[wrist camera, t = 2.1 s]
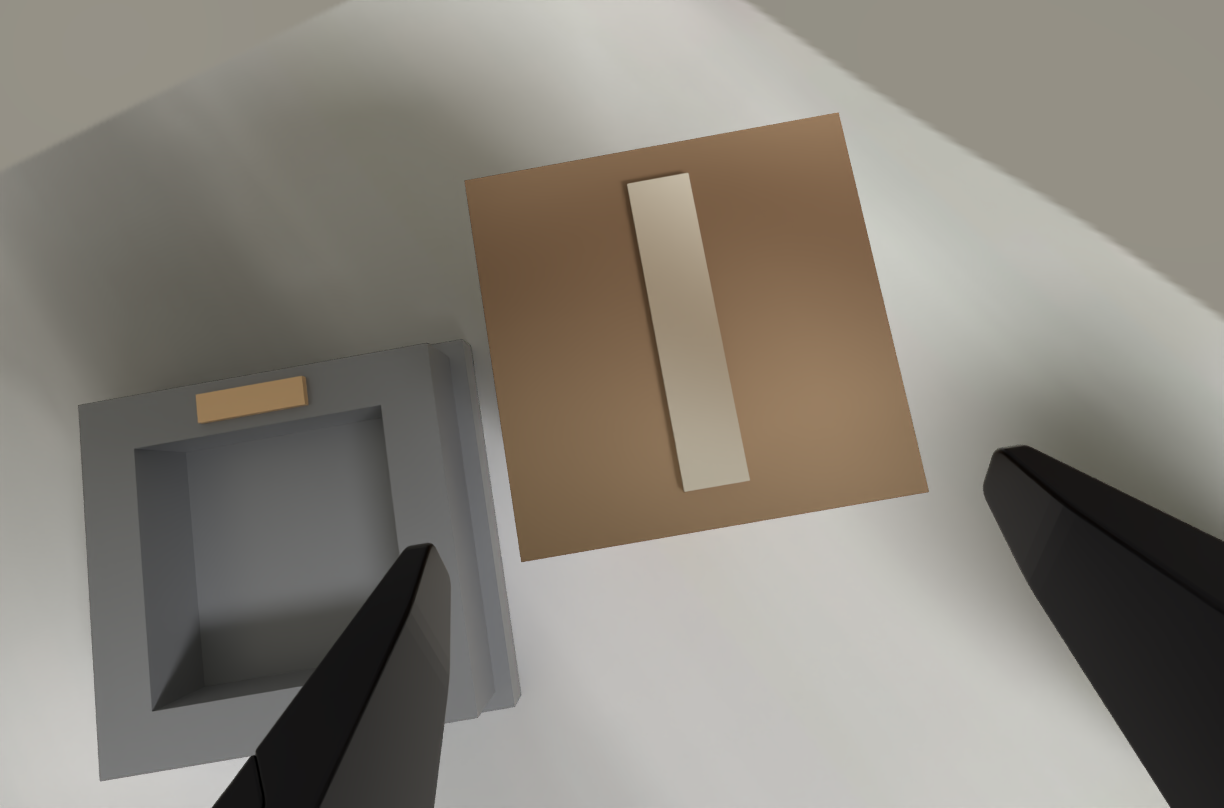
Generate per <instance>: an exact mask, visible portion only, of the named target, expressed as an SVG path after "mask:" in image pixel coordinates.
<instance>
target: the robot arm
mask: <svg viewBox="0 0 1224 808" xmlns="http://www.w3.org/2000/svg"><path fill="white" fill-rule="evenodd" d="M983 492H984V496H985V499H986V501H987V503H988V505H989V507H990V509H991V511H992V513H993V515H994V517H995V519H996V521H997V523H998V526H999V528H1000V530H1001V532H1002V534H1003V536H1004V538H1005V540H1006V542H1007V544H1008V546H1009V548H1010V550H1011V552H1012V554H1013V556H1014V558H1015V560H1016V562H1017V564H1018V566H1019V568H1020V570H1021V572H1022V574H1023V575H1024V577H1025V579H1026V581H1027V583H1028V585H1029V586H1030V588H1031V590H1032V591H1033V593H1034V595H1035V596H1036V598H1037V599H1038V601H1039V603H1040V604H1041V606H1042V607H1043V609H1044V610H1045V612H1046V614H1047V615H1048V617H1049V618H1050V620H1051V621H1052V623H1053V625H1054V626H1055V628H1056V629H1057V631H1058V632H1059V634H1060V635H1061V637H1062V639H1063V640H1064V642H1065V643H1066V645H1067V646H1068V648H1069V650H1070V651H1071V653H1072V654H1073V656H1074V657H1075V659H1076V661H1077V662H1078V664H1079V665H1080V667H1081V668H1082V670H1083V672H1084V673H1085V675H1086V676H1087V678H1088V679H1089V681H1090V682H1091V684H1092V686H1093V687H1094V689H1095V690H1096V692H1097V693H1098V695H1099V697H1100V698H1101V700H1102V701H1103V703H1104V704H1105V706H1106V708H1107V709H1108V711H1109V712H1110V714H1111V715H1112V717H1113V718H1114V720H1115V722H1116V723H1117V725H1118V726H1119V728H1120V729H1121V731H1122V733H1123V734H1124V736H1125V737H1126V739H1127V740H1128V742H1129V744H1130V745H1131V747H1132V748H1133V750H1134V751H1135V753H1136V755H1137V756H1138V758H1139V759H1140V761H1141V762H1142V764H1143V765H1144V767H1145V769H1146V770H1147V772H1148V773H1149V775H1150V776H1151V778H1152V780H1153V781H1154V783H1155V784H1156V786H1157V787H1158V789H1159V791H1160V792H1161V794H1162V795H1163V797H1164V798H1165V800H1166V802H1167V803H1168V805H1169V806H1170V808H1224V541H1222V540H1220V539H1218V538H1216V537H1214V536H1212V535H1209V534H1207V533H1205V532H1203V531H1201V530H1199V529H1197V528H1195V527H1193V526H1191V525H1189V524H1187V523H1185V522H1183V521H1181V520H1179V519H1177V518H1175V517H1173V516H1171V515H1169V514H1167V513H1165V512H1163V511H1161V510H1158V509H1156V508H1154V507H1152V506H1150V505H1148V504H1146V503H1144V502H1142V501H1140V500H1138V499H1136V498H1134V497H1132V496H1130V495H1128V494H1126V493H1124V492H1122V491H1120V490H1118V489H1116V488H1114V487H1112V486H1109V485H1107V484H1105V483H1103V482H1101V481H1099V480H1097V479H1095V478H1093V477H1091V476H1089V475H1087V474H1085V473H1083V472H1081V471H1079V470H1077V469H1075V468H1073V467H1071V466H1069V465H1067V464H1065V463H1063V462H1060V461H1058V460H1056V459H1054V458H1052V457H1050V456H1048V455H1046V454H1044V453H1042V452H1040V451H1038V450H1036V449H1034V448H1032V447H1030V446H1027V445H1014V446H1008V447H1002V448H999V449H997V450H996V451H995V452H994V453H993V455H992V458H991V461H990V464H989V468H988V471H987V474H986V477H985V480H984V484H983ZM450 638H451V581H450V576H449V573H448V571H447V569H446V567H445V565H444V563H443V561H442V559H441V557H440V555H439V553H438V551H437V549H436V547H435V546H434V545H433V544H432V543H423V544H417V545H411V546H408V547H406V548H405V549H404V550H403V551H402V553H401V554H400V555H399V557H398V558H397V559H396V561H395V562H394V563H393V565H392V566H391V567H390V569H389V570H388V571H387V573H386V574H385V576H384V577H383V578H382V580H381V581H380V582H379V584H378V585H377V586H376V588H375V589H374V590H373V592H372V593H371V594H370V596H369V597H368V598H367V600H366V601H365V603H364V604H363V605H362V607H361V608H360V609H359V611H358V612H357V613H356V615H355V616H354V617H353V619H352V620H351V621H350V623H349V624H348V626H347V627H346V628H345V630H344V631H343V632H342V634H341V635H340V636H339V638H338V639H337V640H336V642H335V643H334V644H333V646H332V647H331V648H330V650H329V651H328V653H327V654H326V655H325V657H324V658H323V659H322V661H321V662H320V663H319V665H318V666H317V667H316V669H315V670H314V671H313V673H312V674H311V675H310V677H309V678H308V680H307V681H306V682H305V684H304V685H303V686H302V688H301V689H300V690H299V692H298V693H297V694H296V696H295V697H294V698H293V700H292V701H291V703H290V704H289V705H288V707H287V708H286V709H285V711H284V712H283V713H282V715H281V716H280V717H279V719H278V720H277V721H276V723H275V724H274V725H273V727H272V728H271V730H270V731H269V732H268V734H267V735H266V736H265V738H264V739H263V740H262V742H261V743H260V744H259V746H258V747H257V748H256V750H255V755H252V756H251V757H250V758H249V759H248V760H247V762H246V763H245V764H244V766H243V767H242V768H241V770H240V771H239V772H238V774H237V775H236V776H235V778H234V779H233V781H232V782H231V783H230V784H229V786H228V787H227V788H226V790H225V791H224V792H223V794H222V795H221V796H220V797H219V799H218V800H217V801H216V803H215V804H214V805H213V807H212V808H434V803H435V795H436V787H437V779H438V771H439V763H440V755H441V747H442V739H443V731H444V723H445V715H446V707H447V699H448V690H449V680H450Z"/></svg>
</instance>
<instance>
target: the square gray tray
mask: <svg viewBox="0 0 1224 808" xmlns="http://www.w3.org/2000/svg"><path fill="white" fill-rule="evenodd" d="M78 408H79V426H80V443H81V461H82V478H83V496H84V513H85V531H86V548H87V566H88V584H89V601H90V619H91V636H92V654H93V671H94V689H95V706H96V724H97V741H98V759H99V776H100V781H106V780H111V779H117V778H123V777H129V776H135V775H141V774H147V773H153V772H159V771H165V770H171V769H177V768H183V767H189V766H195V765H201V764H206V763H212V762H218V761H224V760H230V759H236V758H242V757H248V756H252V755H255V750H256V748H257V747H258V746H259V744H260V743H261V742H262V740H263V739H264V738H265V736H266V735H267V734H268V732H269V731H270V730H271V728H272V727H273V725H274V724H275V723H276V721H277V720H278V719H279V717H280V716H281V715H282V713H283V712H284V711H285V709H286V708H287V707H288V705H289V704H290V703H291V701H292V700H293V698H294V697H295V696H296V694H297V693H298V692H299V690H300V689H301V688H302V686H303V685H304V684H305V682H306V681H307V680H308V678H309V677H310V675H311V674H312V673H313V671H314V670H315V669H316V667H317V666H318V665H319V663H320V662H321V661H322V659H323V658H324V657H325V655H326V654H327V653H328V651H329V650H330V648H331V647H332V646H333V644H334V643H335V642H336V640H337V639H338V638H339V636H340V635H341V634H342V632H343V631H344V630H345V628H346V627H347V626H348V624H349V623H350V621H351V620H352V619H353V617H354V616H355V615H356V613H357V612H358V611H359V609H360V608H361V607H362V605H363V604H364V603H365V601H366V600H367V598H368V597H369V596H370V594H371V593H372V592H373V590H374V589H375V588H376V586H377V585H378V584H379V582H380V581H381V580H382V578H383V577H384V576H385V574H386V573H387V571H388V570H389V569H390V567H391V566H392V565H393V563H394V562H395V561H396V559H397V558H398V557H399V555H400V554H401V553H402V551H403V550H404V549H405V548H406V547H408V546H411V545H417V544H423V543H432V544H433V545H434V546H435V547H436V549H437V551H438V553H439V555H440V557H441V559H442V561H443V563H444V565H445V567H446V569H447V571H448V573H449V576H450V581H451V638H450V680H449V690H448V699H447V707H446V715H445V723H450V722H456V721H462V720H468V719H474V718H478V717H479V715H480V714H481V713H482V712H487V711H493V710H499V709H505V708H511V707H515V706H516V704H517V702H518V700H519V698H520V697H521V689H520V683H519V676H518V669H517V662H516V655H515V648H514V641H513V634H512V627H511V620H510V613H509V607H508V600H507V593H506V586H505V579H504V572H503V565H502V558H501V551H500V544H499V537H498V531H497V524H496V517H495V510H494V503H493V496H492V489H491V482H490V475H489V468H488V461H487V455H486V448H485V441H484V434H483V427H482V420H481V413H480V406H479V399H478V392H477V385H476V379H475V372H474V365H473V358H472V351H471V346H470V345H469V344H468V343H466V342H465V341H464V340H463V339H460V340H455V341H449V342H443V343H438V344H432V345H429V344H428V343H424V344H418V345H413V346H407V347H402V348H396V349H390V350H385V351H379V352H374V353H368V354H362V355H357V356H351V357H345V358H340V359H334V360H329V361H323V362H317V363H312V364H306V365H301V366H295V367H289V368H284V369H278V370H273V371H267V372H261V373H256V374H250V375H245V376H239V377H233V378H228V379H222V380H217V381H211V382H205V383H200V384H194V385H189V386H183V387H177V388H172V389H166V390H160V391H155V392H149V393H144V394H138V395H132V396H127V397H121V398H116V399H110V400H104V401H99V402H93V403H88V404H82V405H78Z"/></svg>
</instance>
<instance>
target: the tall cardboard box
mask: <svg viewBox="0 0 1224 808" xmlns="http://www.w3.org/2000/svg"><path fill="white" fill-rule="evenodd" d="M465 187H466V194H467V201H468V207H469V214H470V221H471V228H472V234H473V241H474V248H475V254H476V261H477V268H478V275H479V281H480V288H481V295H482V301H483V308H484V315H485V322H486V328H487V335H488V342H489V348H490V355H491V362H492V369H493V375H494V382H495V389H496V396H497V402H498V409H499V416H500V422H501V429H502V436H503V443H504V449H505V456H506V463H507V469H508V476H509V483H510V490H511V496H512V503H513V510H514V516H515V523H516V530H517V537H518V543H519V550H520V557H521V562H525V561H531V560H537V559H543V558H548V557H554V556H560V555H566V554H572V553H577V552H583V551H589V550H595V549H601V548H606V547H612V546H618V545H624V544H630V543H635V542H641V541H647V540H653V539H659V538H665V537H670V536H676V535H682V534H688V533H694V532H699V531H705V530H711V529H717V528H723V527H728V526H734V525H740V524H746V523H752V522H757V521H763V520H769V519H775V518H781V517H786V516H792V515H798V514H804V513H810V512H815V511H821V510H827V509H833V508H839V507H844V506H850V505H856V504H862V503H868V502H873V501H879V500H885V499H891V498H897V497H902V496H908V495H914V494H920V493H926V492H929V490H928V486H927V482H926V477H925V473H924V469H923V465H922V461H921V456H920V452H919V448H918V444H917V440H916V435H915V431H914V427H913V423H912V419H911V414H910V410H909V406H908V402H907V398H906V393H905V389H904V385H903V381H902V377H901V373H900V368H899V364H898V360H897V356H896V352H895V347H894V343H893V339H892V335H891V331H890V326H889V322H888V318H887V314H886V310H885V305H884V301H883V297H882V293H881V289H880V284H879V280H878V276H877V272H876V268H875V263H874V259H873V255H872V251H871V247H870V243H869V238H868V234H867V230H866V226H865V222H864V217H863V213H862V209H861V205H860V201H859V196H858V192H857V188H856V184H855V180H854V175H853V171H852V167H851V163H850V159H849V154H848V150H847V146H846V142H845V138H844V133H843V129H842V125H841V121H840V117H839V113H833V114H828V115H822V116H817V117H811V118H806V119H800V120H795V121H789V122H784V123H778V124H773V125H767V126H762V127H756V128H751V129H745V130H740V131H734V132H729V133H723V134H718V135H712V136H707V137H701V138H696V139H690V140H685V141H679V142H674V143H668V144H663V145H657V146H652V147H646V148H641V149H635V150H630V151H624V152H619V153H613V154H608V155H603V156H597V157H592V158H586V159H581V160H575V161H570V162H564V163H559V164H553V165H548V166H542V167H537V168H531V169H526V170H520V171H515V172H509V173H504V174H498V175H493V176H487V177H482V178H476V179H471V180H465Z"/></svg>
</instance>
